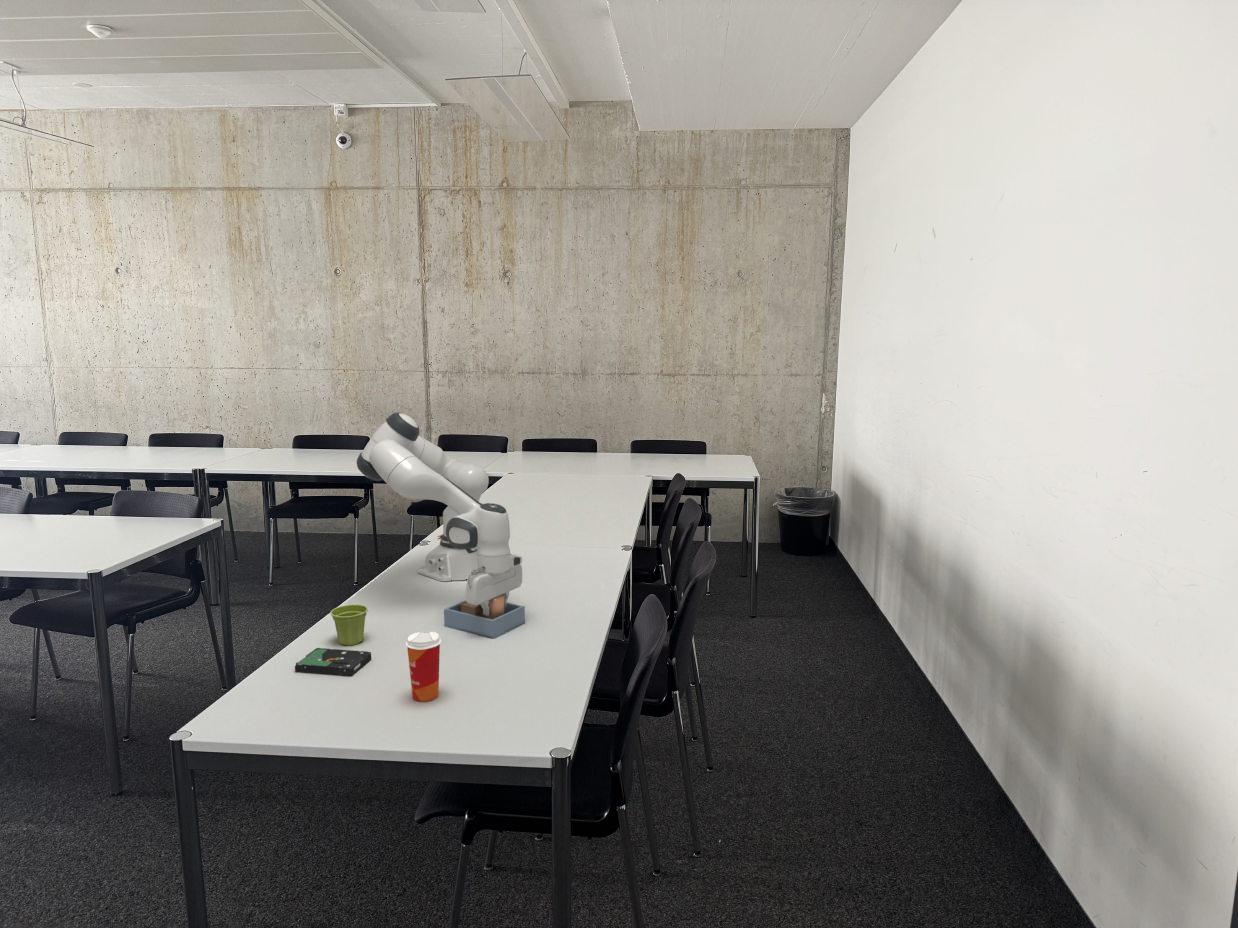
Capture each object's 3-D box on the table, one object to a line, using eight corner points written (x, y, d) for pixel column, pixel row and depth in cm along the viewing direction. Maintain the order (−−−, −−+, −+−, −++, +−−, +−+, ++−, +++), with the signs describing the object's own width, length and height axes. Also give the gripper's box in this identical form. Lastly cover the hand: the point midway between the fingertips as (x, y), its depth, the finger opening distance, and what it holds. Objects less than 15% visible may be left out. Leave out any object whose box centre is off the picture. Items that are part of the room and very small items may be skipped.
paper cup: (411, 689, 178) (408, 630, 176) (445, 688, 179) (443, 629, 177) (404, 704, 171) (402, 644, 168) (440, 703, 171) (438, 643, 169)
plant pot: (334, 651, 200) (332, 618, 199) (329, 638, 208) (328, 607, 207) (372, 644, 204) (370, 612, 203) (366, 632, 212) (364, 602, 211)
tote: (444, 626, 217) (443, 609, 217) (477, 611, 229) (476, 595, 228) (493, 638, 208) (492, 620, 208) (524, 623, 220) (524, 606, 219)
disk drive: (372, 661, 195) (316, 657, 197) (371, 651, 195) (316, 646, 197) (352, 679, 185) (294, 674, 187) (351, 668, 184) (293, 663, 187)
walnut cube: (474, 624, 217) (474, 607, 216) (461, 621, 220) (460, 604, 219) (486, 619, 221) (486, 602, 221) (473, 615, 224) (472, 599, 223)
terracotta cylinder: (496, 624, 213) (496, 600, 212) (482, 621, 215) (482, 596, 214) (508, 619, 217) (507, 595, 216) (494, 615, 220) (493, 591, 219)
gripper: (477, 574, 203) (478, 624, 205) (525, 555, 221) (526, 602, 223) (459, 570, 207) (460, 620, 209) (508, 552, 224) (509, 598, 226)
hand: (495, 611), depth 216 cm, fingers closed on terracotta cylinder, 5 cm apart
